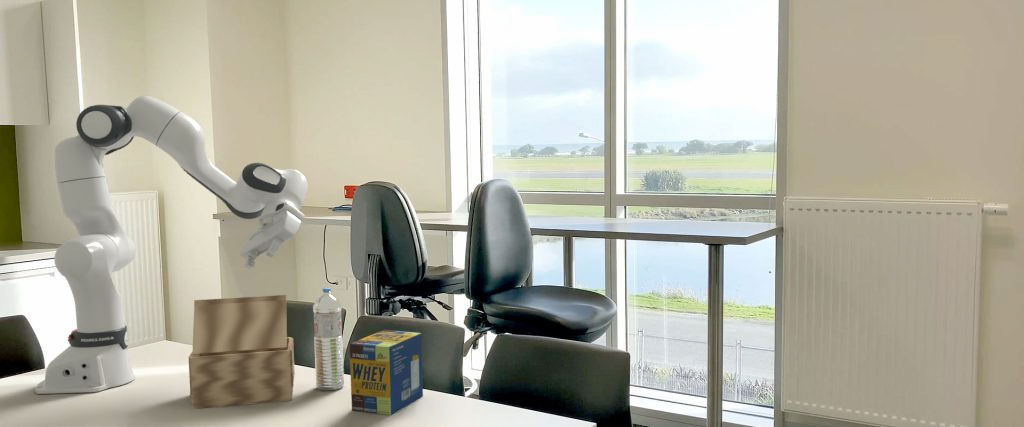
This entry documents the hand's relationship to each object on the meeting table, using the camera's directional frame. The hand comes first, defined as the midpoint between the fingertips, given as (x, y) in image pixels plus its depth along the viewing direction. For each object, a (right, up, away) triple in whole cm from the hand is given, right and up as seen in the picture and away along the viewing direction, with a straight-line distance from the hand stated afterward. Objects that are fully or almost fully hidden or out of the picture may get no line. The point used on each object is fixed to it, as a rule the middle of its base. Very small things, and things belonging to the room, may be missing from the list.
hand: (258, 261), depth 199 cm
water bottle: (+19, -31, -4) cm, 37 cm away
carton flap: (0, -14, -14) cm, 20 cm away
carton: (0, -32, -10) cm, 33 cm away
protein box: (+36, -32, -17) cm, 51 cm away
